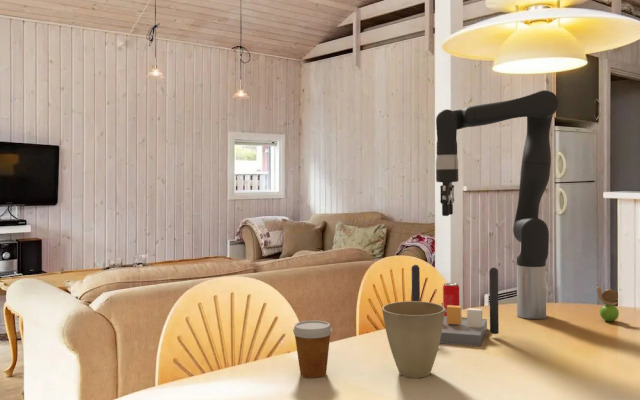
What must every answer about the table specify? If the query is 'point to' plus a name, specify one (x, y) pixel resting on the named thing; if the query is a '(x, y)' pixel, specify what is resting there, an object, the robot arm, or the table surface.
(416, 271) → the dark grey rod
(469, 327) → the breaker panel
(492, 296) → the dark grey post
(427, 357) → the plant pot
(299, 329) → the disposable coffee cup
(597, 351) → the table surface
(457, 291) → the beverage can
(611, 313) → the snail figurine
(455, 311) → the block
